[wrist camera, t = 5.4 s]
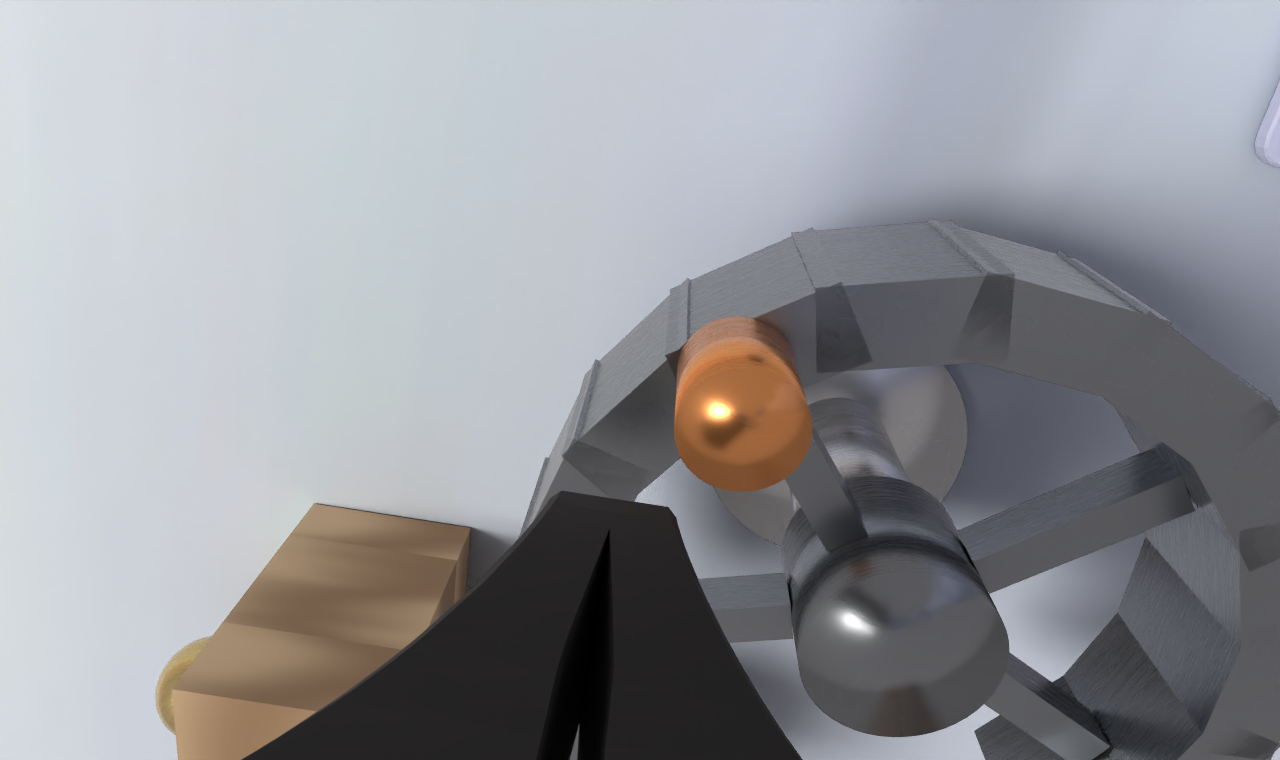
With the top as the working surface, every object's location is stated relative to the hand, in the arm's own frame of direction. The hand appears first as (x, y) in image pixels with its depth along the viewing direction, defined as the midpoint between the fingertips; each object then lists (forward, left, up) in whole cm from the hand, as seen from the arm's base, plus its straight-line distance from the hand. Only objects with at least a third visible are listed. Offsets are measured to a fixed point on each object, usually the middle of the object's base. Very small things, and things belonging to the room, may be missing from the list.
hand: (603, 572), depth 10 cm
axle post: (-5, +3, -10) cm, 12 cm away
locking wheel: (-5, +2, -6) cm, 8 cm away
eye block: (+6, +10, -10) cm, 15 cm away
